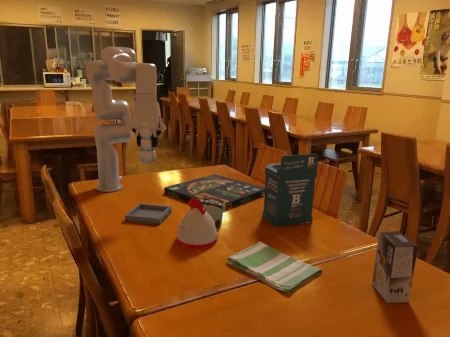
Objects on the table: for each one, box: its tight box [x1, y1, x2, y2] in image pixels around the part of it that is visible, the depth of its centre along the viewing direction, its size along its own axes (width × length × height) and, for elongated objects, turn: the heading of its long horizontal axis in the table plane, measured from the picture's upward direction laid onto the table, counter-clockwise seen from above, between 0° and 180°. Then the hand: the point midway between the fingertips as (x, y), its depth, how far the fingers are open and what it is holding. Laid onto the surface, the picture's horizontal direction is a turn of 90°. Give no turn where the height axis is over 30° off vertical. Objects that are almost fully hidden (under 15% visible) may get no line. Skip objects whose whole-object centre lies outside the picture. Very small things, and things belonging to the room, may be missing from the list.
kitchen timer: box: [176, 198, 218, 250], centre depth 128 cm, size 14×14×15 cm
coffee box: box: [371, 231, 419, 304], centre depth 100 cm, size 9×6×16 cm
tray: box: [124, 202, 173, 226], centre depth 149 cm, size 14×14×2 cm
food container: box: [198, 197, 225, 230], centre depth 143 cm, size 12×6×10 cm, turn 65°
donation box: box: [261, 153, 319, 229], centre depth 149 cm, size 16×16×28 cm
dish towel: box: [226, 241, 323, 294], centre depth 113 cm, size 18×23×3 cm
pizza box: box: [163, 173, 265, 212], centre depth 179 cm, size 35×35×4 cm
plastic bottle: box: [138, 121, 157, 164], centre depth 141 cm, size 6×7×20 cm
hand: (147, 146), depth 142 cm, fingers closed on plastic bottle, 5 cm apart
